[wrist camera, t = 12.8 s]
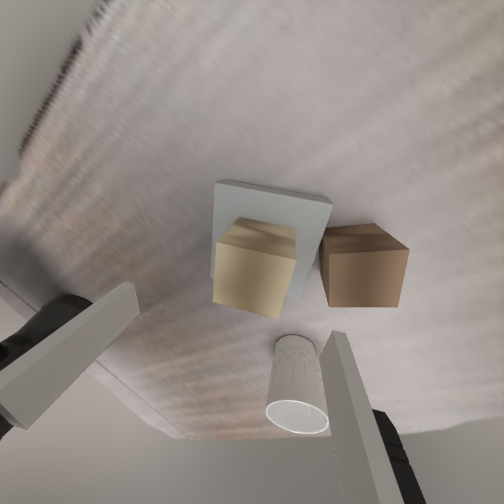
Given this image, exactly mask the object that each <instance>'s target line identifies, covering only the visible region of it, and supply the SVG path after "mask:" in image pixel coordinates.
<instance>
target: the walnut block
mask: <svg viewBox="0 0 504 504" xmlns="http://www.w3.org/2000/svg"><path fill="white" fill-rule="evenodd" d="M409 250H410V249H408V248H407V247H406V246H404V245H403V244H401V243H400V242H399V241H397V240H396V239H395V238H393V237H392V236H391V235H389V234H388V233H387V232H385V231H384V230H383V229H381V228H380V227H379V226H377V225H376V224H364V225H354V226H344V227H333V228H325V231H324V234H323V236H322V239H321V242H320V245H319V261H320V274H321V278H322V282H323V286H324V290H325V293H326V297H327V301H328V305H329V307H398V303H399V298H400V293H401V288H402V284H403V279H404V274H405V269H406V264H407V259H408V255H409Z"/></svg>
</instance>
